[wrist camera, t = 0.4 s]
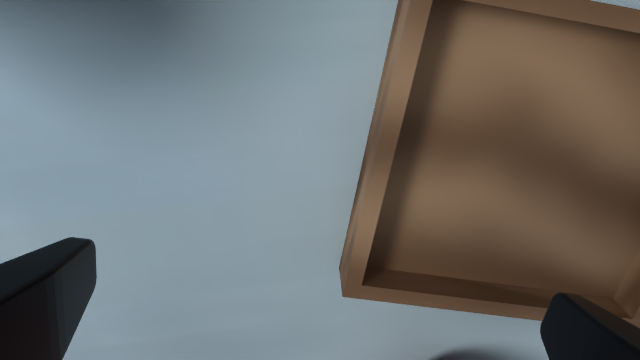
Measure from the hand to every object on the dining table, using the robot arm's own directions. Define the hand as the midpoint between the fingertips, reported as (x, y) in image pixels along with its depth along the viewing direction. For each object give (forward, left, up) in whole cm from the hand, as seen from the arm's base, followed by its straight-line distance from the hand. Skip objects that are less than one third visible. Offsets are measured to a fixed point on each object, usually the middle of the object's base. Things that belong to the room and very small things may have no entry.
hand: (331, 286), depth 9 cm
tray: (-1, -11, -14) cm, 17 cm away
